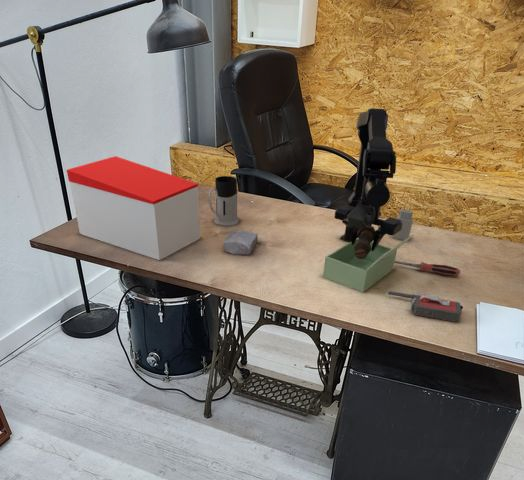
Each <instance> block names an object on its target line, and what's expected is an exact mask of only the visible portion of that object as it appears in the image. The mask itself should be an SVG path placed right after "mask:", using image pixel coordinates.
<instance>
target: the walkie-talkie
mask: <svg viewBox="0 0 524 480" xmlns="http://www.w3.org/2000/svg"><path fill="white" fill-rule="evenodd" d="M386 293H387V295H389V296H396V297H399V298H405V299H410V300H412V302H411V308H410V310H411V311H413V315H415V316H421V317H424V318H431V319H436V320H443V321H447V322H448V321H449V322H453V323H454V322H459V319H460V317H461V312H462V311H463V308H464V306H463V305H461V302H459V301H454V300H451V299H443V298H440V296H437V295H432V294H426V293H420V292H417V293H416V294H411V293H410V294H409V293H403V292H397V291H392V290H388V291H387V292H386Z"/></svg>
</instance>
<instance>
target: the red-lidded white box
mask: <svg viewBox="0 0 524 480" xmlns="http://www.w3.org/2000/svg"><path fill="white" fill-rule="evenodd" d="M66 174H67V179H68V180H67V181H68V182H69V186H70V190H71V195H72V200H73V205H74V210H75V215H76V216H75V217H76V221H77V226H78V231H79V235H82V236H86V237H88V238H92V239H95V240H98V241H101V242H104V243H106V244H109V245H112V246H116V247H117V248H121V249H124V250H127V251H131V252H132V253H133V252H134V253H136V254H139V255H141V256H145V257H148V258H152V259H155V260H157V261H161V260H163V259H165V258H167V257H168V256H170V255H172V254H174V253H177V252H178V251H179V250H181V249H183V248H185V247H187V246H189V245H191V244H193V243H194V242H197V241H198V240H200V239H201V230H200V229H201V227H200V204H199V203H200V202H199V184H198V183H197V182H194V181H191V180H188V179H186V178H182V177H179V176H177V175H173V174H171V173H167V172H164V171H162V170H158V169H156V168H152V167H149V166H146V165H144V164H141V163H138V162H134V161H131V160H129V159H125V158H123V157H119V156H116V155H115V156H111V157H108V158H105V159H104V158H103V159H101V160H97V161H93V162H90V163H85V164H82V165H78V166H75V167H72V168H68V169H66Z"/></svg>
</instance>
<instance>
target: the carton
mask: <svg viewBox="0 0 524 480" xmlns="http://www.w3.org/2000/svg"><path fill="white" fill-rule="evenodd" d="M358 241H359V238H357V239H356V241H355V244H356V243H357V242H358ZM355 244H354V245H352V243H351V242H348V243H346V244H345V245H343V246H341V247H340V248H337V249H336V250H334V251H333V252H331V253H330V254H328V255H326V256H325V257H324V265H323V273H322V277H323V278H325V279H327V280H330V281H333V282H336V283H338V284H341V285H343V286H345V287H349V288H351V289H354V290H357V291H359V292H362V293H364V292H365V291H366V290H368V289H369V288H370V287H372V286H373V285H375V284H376V283H377V282H378V281H380V280H381V279H382V278H384V277H385V276H386V275H388V274H389V273H390V272H392V271H393V270H394V266H395V263H394V262H395V261H396V257H397V252H398V249H397V250H396V251H394V252H393V253H391V254H390V255H388V256H387V257H386V258H384V259H383V260H381V261H380V262H378V263H377V264H375V265H374V266H373V267H371V268H370V269H367V268H368V267H369V266H371V265H372V264H373V263H374V262H375V261H376V260H378V259H379V258H380V257H381V256H382V255H383V254H385V253H386V252H388V251H389V250H391V249H392V248H393V247H390V246H389V247H388V246H385V245H382V244H380V243H379V244H378V245H377V247H376V248H375V250H374V251H370V252H369V253H368V254H367V255H366V257H365V258H364V259H358V258H356V256H355V250H354V246H355ZM372 244H373V241H372V242H371V243H370V245H371V248H372ZM371 250H372V249H371Z"/></svg>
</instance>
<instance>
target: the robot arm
mask: <svg viewBox="0 0 524 480" xmlns="http://www.w3.org/2000/svg"><path fill="white" fill-rule="evenodd" d="M388 121H389V114H388V113H387V109H384V108H374V107H372V108H368V109H367V110H366V111H363V112H360V113H359V115H357V119H356V130H357V136H358V140H359V142H360V149H359V157H358V163H357V171H356V175H355V176H356V177H355V182H354V183H355V184H354V189H353V192H352V194H350V196H349V197H348V198H347V204H343V205H342V206H339V207H338V208H336V210H335V211H334V219H336V220H338V221H339V220H340V221H341V222H342V224H344V225H345V229H344V234H343V235H342V236H340V240H343V241H346V242H348V243H350V242H351V243H352V245H354V244H355V241H356V239H357V238H359V237H358V235H357V233H358V231H359V230H360V229H363V228H364V227H365V226H367V225H368V226H377V229H375V231H374V234H375V236H374V240H373V241H372V242H373V244H372V250H371V251H374V250H375V248H376V247H377V245H378V244H379V245H380V242H381V241H382V239H383V238H384V237H385V236H386V235H388V236H393V235H394V234H396V233H397V232H399V231H401V229H402V225H403V224H402V222H401V220H398V219H396V218H394V217H391V216H390V217H388V218H386V219H381V218H380V217H381V216H382V212H381V207H384V206H386V204H387V203H389V201H390V198H391V192H390V189H389V187H388V185H387V179H394V175H395V174H396V172H397V170H396V169H397V155H396V151H395V150H394V147H393V143H392V142H391V141H390V140H389V139H387V138H388V137H387V128H388Z"/></svg>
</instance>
